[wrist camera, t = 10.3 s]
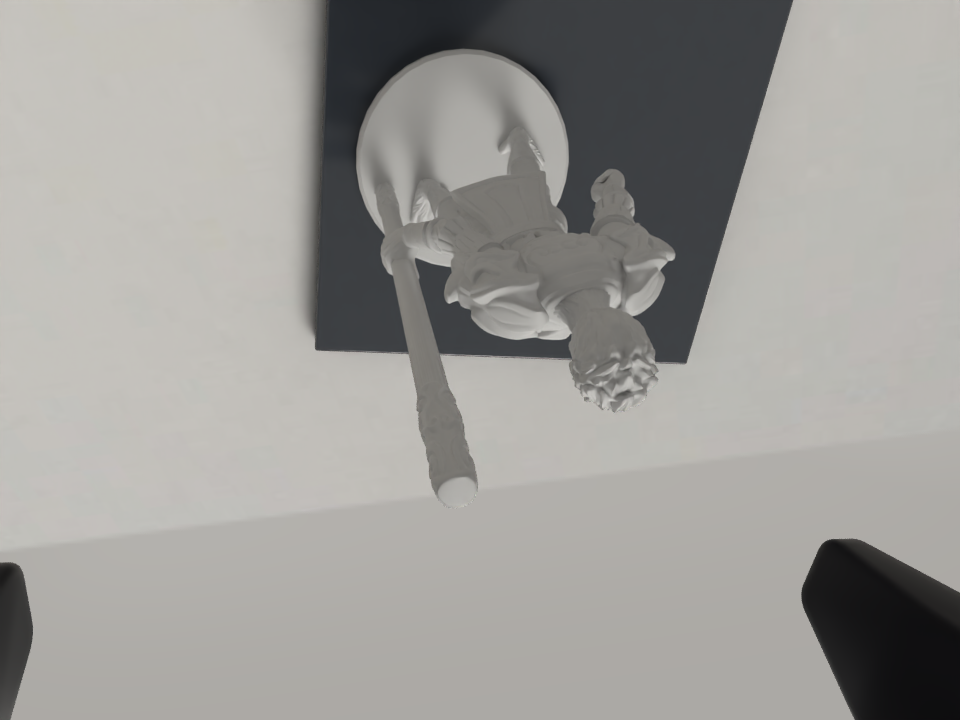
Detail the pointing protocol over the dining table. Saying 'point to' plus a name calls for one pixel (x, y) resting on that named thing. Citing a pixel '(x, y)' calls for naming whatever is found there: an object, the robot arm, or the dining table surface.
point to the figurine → (501, 238)
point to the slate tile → (591, 143)
